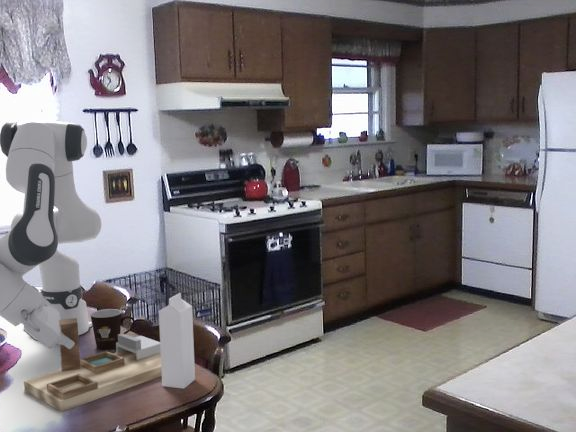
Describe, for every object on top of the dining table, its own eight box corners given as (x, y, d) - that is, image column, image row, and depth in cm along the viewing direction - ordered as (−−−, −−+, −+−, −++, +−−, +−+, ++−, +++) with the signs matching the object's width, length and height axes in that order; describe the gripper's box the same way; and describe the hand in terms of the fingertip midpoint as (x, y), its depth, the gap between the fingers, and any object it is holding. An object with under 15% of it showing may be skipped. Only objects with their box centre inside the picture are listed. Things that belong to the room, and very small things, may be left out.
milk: (162, 386, 153) (157, 298, 150) (174, 377, 158) (169, 291, 156) (184, 389, 151) (179, 299, 148) (196, 379, 157) (191, 293, 154)
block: (62, 371, 143) (58, 324, 141) (61, 365, 146) (58, 319, 145) (80, 369, 144) (77, 322, 143) (79, 362, 148) (76, 317, 146)
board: (24, 390, 152) (23, 374, 151) (140, 353, 176) (139, 339, 175) (61, 411, 140) (60, 394, 139) (180, 369, 164) (180, 354, 163)
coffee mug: (86, 350, 180) (84, 316, 178) (104, 340, 188) (102, 308, 186) (120, 354, 176) (118, 319, 174) (138, 344, 184) (136, 311, 182)
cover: (116, 351, 170) (115, 334, 169) (141, 344, 176) (140, 327, 175) (137, 360, 163) (136, 342, 163) (162, 352, 169) (161, 334, 168)
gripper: (32, 307, 131) (84, 345, 136) (33, 284, 149) (79, 318, 154) (10, 330, 130) (64, 368, 135) (14, 304, 149) (61, 338, 153)
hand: (72, 341), depth 145 cm, fingers closed on block, 4 cm apart
